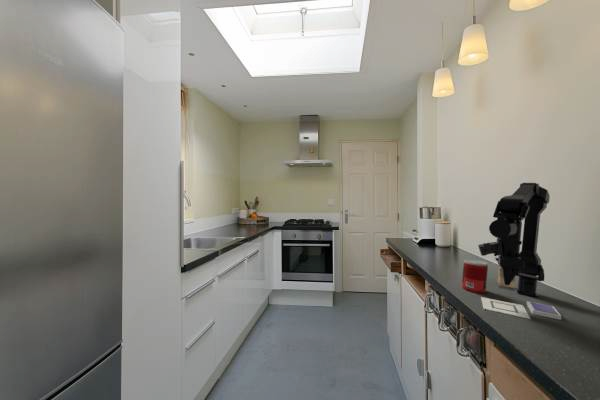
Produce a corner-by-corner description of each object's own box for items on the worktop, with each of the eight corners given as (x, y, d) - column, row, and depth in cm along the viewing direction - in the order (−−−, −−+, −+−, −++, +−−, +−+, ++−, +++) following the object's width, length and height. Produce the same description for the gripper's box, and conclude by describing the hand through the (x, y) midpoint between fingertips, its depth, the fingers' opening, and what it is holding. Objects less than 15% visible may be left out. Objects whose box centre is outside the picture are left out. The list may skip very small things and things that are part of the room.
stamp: (496, 284, 99) (498, 263, 98) (512, 287, 97) (514, 265, 96) (498, 288, 95) (499, 266, 95) (514, 290, 93) (516, 268, 92)
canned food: (489, 294, 108) (491, 265, 108) (465, 291, 110) (468, 263, 110) (480, 287, 116) (483, 260, 115) (459, 285, 117) (461, 258, 117)
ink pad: (526, 304, 100) (526, 300, 100) (552, 309, 96) (553, 305, 96) (532, 313, 92) (532, 309, 92) (561, 319, 89) (561, 315, 88)
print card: (481, 297, 104) (481, 296, 104) (522, 306, 98) (522, 304, 98) (483, 309, 94) (483, 308, 94) (530, 319, 88) (530, 317, 88)
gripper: (479, 230, 107) (475, 272, 108) (482, 236, 91) (478, 285, 91) (516, 234, 102) (512, 278, 102) (527, 241, 85) (522, 293, 86)
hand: (505, 283), depth 96 cm, fingers closed on stamp, 4 cm apart
